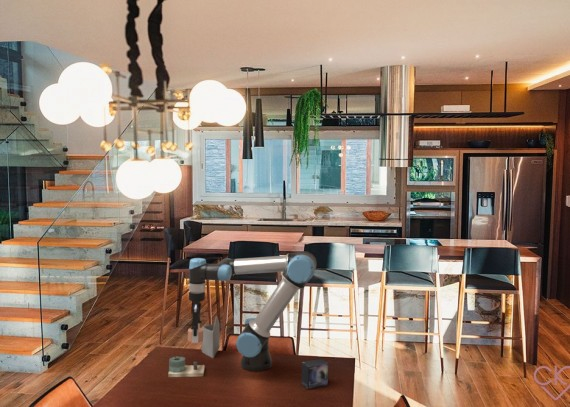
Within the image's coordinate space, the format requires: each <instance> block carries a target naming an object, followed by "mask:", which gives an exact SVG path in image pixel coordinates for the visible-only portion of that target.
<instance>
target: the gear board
mask: <svg viewBox="0 0 570 407" xmlns="http://www.w3.org/2000/svg"><path fill="white" fill-rule="evenodd" d="M192 364H193V365H192ZM192 364H191V365H189V364H187V365H186V357H184V356H173V357H170V358H169V360H168V373H167V377H168V378H189V377H190V378H191V377H192V378H193V377H204V375H205V374H204V373H205V368H206V367H205V366H206V365H204V364H198V361H197V360H196V361H195V360H194V361H193V363H192Z"/></svg>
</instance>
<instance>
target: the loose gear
mask: <svg viewBox="0 0 570 407" xmlns="http://www.w3.org/2000/svg"><path fill="white" fill-rule="evenodd" d="M191 328H192V327H189V328H187V329H188V330H187V342H189V343H192V329H191ZM203 330H204V329H202V327H200V328H198V343H197V344H199V343H202V342H203ZM192 344H193V343H192Z"/></svg>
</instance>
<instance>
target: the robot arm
mask: <svg viewBox="0 0 570 407" xmlns="http://www.w3.org/2000/svg"><path fill="white" fill-rule="evenodd" d="M317 262H318V261H317V259H316V257H315V255H313V254H312V253H310V252H309V251H298V252H288V253H287V254H286V255H277V256H276V255H273V256H260V257H244V258H223V259H222V260H220V261H219V262H218V263H207V260H206V259H205V258H203V257H202V258H201V257H194V258H191V259H190V260H189V267H188V272H189V274H188V278H189V279H188V280H189V281H188V284H187V287H188V291H189V292H188V300H189V301H190V302H193V303H192V304H191V305H192V306H191V309H192V311H191V314H192V319H191V320H192V322H191V323H192V324H191V326H192V327H190V328H191V329H192V344H199V343H198V328H201V327H200V326H201V324H202V320H201V309H202V308H201V307H202V302H203V301H205V299H206V292H205V291H206V280H207V281H216V282H217V281H218V282H229V281H230V280H231V278H232V276H234V275H248V274H250V275H251V274H264V273H266V274H267V273H280V272H281V273H282V274H281V276H282V279H281V281H279V284H278V285H277V286H276V288H275V289H274V291H273V292H272V293H271V295H270V297H269V298H268V299H267V301H266V302H265V303H264V305H263V307H262V308H261V310H260V311H259V313H257V315H256V317H251V318H246V319H245V321H244V329H243V330H242V332H241V333H240V334H239V335H238V336H237V339H236V341H235V342H236V343H235V346H236V349H237V351H238V353H239V354H241V355H242V357H241V360H240V367H241V368H242V369H244V370H246V371H250V372H251V371H252V372H261V371H266V370H269V369H270V368H271V367H273V366H272V365H273V359H272V357H271V353H270V350H269V342H270V341H269V339H270V337H271V330H272V328H273V327H274V326H275V324H276V323H277V321H278V319H279V318H280V317H281V315H282V314H283V312H284V311H285V310H286V308H287V306H288V305H289V304H290V302H291V301H292V300H293V298H294V296H295V295H296V294H297V292H298V291H299V290H303V289H304V288H305V287H306V285H307V283H309V281H310V280H311V279H312V278H313V276H314V274H315V271H316V270H317V266H318V265H317Z"/></svg>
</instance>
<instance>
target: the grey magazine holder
mask: <svg viewBox="0 0 570 407" xmlns="http://www.w3.org/2000/svg"><path fill="white" fill-rule="evenodd" d="M201 328H202V329H204V330H203V342H201V353H203V354H205V355H206V356H207V357H210V358H211V359H214V358H215V356H216V354H217V352H218V351H219V349H220V337H221V336H220V330H221V329H220V328H221V326H220V321H219V318H218V316H217V315H216V316H215V318H214V323H211V324H207V325H204V326H201Z"/></svg>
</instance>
